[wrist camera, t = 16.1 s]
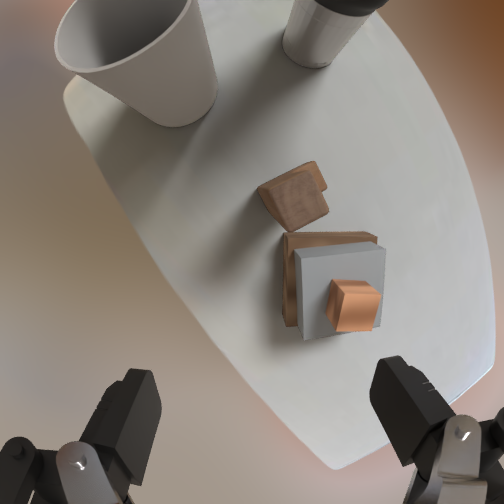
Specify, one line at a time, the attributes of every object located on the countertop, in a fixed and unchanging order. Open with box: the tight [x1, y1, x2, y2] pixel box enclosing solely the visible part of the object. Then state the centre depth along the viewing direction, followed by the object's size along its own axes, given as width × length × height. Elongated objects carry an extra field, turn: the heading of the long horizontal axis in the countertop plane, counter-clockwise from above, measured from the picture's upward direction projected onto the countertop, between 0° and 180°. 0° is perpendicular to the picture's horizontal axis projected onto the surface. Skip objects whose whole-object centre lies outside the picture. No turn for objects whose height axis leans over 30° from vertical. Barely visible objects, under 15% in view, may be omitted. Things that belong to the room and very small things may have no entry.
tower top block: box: [294, 241, 386, 340], centre depth 38 cm, size 12×12×5 cm
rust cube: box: [325, 279, 381, 332], centre depth 33 cm, size 5×5×5 cm
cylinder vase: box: [54, 0, 218, 127], centre depth 25 cm, size 12×12×25 cm
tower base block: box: [282, 232, 377, 327], centre depth 43 cm, size 14×14×5 cm
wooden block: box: [257, 161, 329, 233], centre depth 33 cm, size 9×4×18 cm, turn 118°
